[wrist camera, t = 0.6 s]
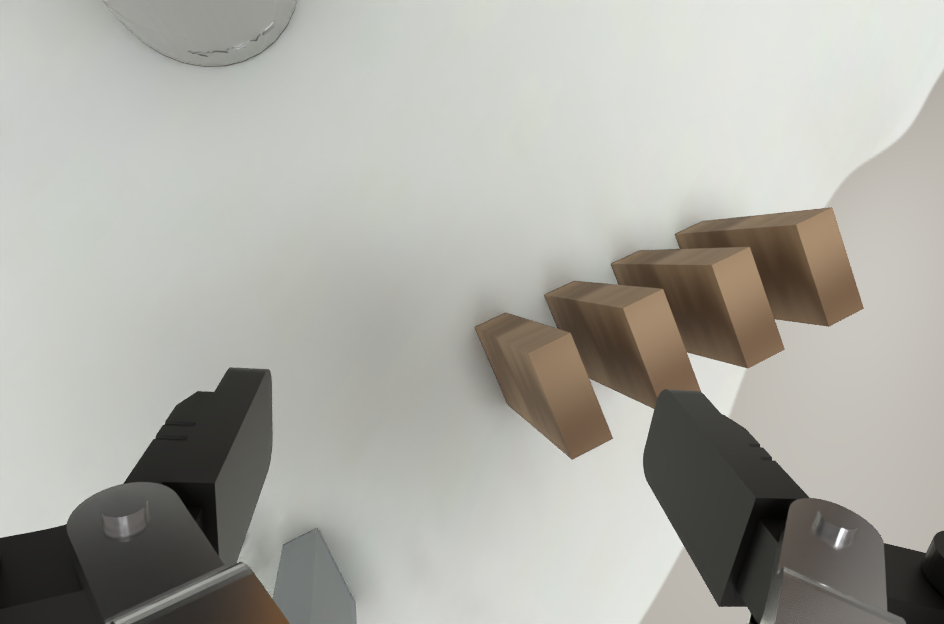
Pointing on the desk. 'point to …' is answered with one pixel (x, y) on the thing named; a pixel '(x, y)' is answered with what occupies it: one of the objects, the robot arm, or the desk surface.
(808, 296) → the walnut domino
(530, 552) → the desk surface
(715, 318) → the walnut domino
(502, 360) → the walnut domino
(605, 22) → the desk surface
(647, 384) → the walnut domino
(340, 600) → the grey domino
